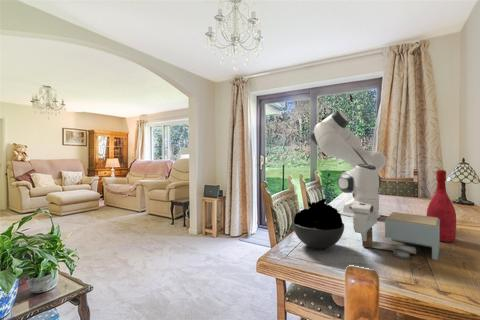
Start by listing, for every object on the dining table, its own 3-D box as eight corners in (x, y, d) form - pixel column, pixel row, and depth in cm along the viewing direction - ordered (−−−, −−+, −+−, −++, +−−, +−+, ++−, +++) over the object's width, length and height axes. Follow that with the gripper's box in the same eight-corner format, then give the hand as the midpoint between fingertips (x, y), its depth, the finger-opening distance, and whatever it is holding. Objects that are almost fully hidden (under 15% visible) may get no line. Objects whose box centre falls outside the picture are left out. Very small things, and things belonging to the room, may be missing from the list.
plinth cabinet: (385, 248, 95) (384, 218, 94) (391, 238, 105) (391, 211, 105) (437, 260, 84) (437, 225, 84) (439, 248, 94) (439, 217, 94)
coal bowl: (315, 261, 84) (314, 208, 84) (283, 242, 103) (282, 199, 102) (356, 251, 92) (356, 203, 92) (319, 235, 111) (319, 195, 110)
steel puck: (393, 257, 87) (393, 252, 87) (393, 252, 91) (393, 247, 91) (409, 261, 84) (409, 255, 84) (409, 255, 88) (409, 250, 88)
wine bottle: (449, 236, 107) (449, 169, 106) (461, 244, 98) (461, 170, 97) (422, 234, 110) (423, 169, 110) (432, 241, 101) (432, 170, 100)
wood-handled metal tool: (362, 246, 96) (362, 228, 96) (362, 243, 99) (362, 226, 99) (416, 254, 87) (416, 235, 87) (415, 250, 90) (414, 232, 90)
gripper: (365, 199, 106) (365, 230, 107) (350, 208, 91) (350, 244, 91) (381, 201, 102) (381, 233, 102) (368, 210, 87) (368, 248, 87)
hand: (366, 238), depth 97 cm, fingers closed on wood-handled metal tool, 4 cm apart
